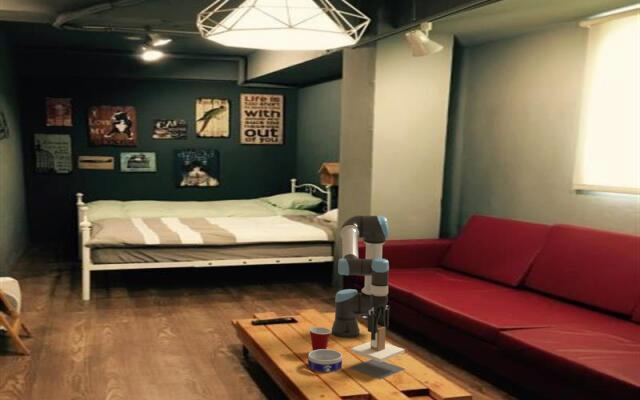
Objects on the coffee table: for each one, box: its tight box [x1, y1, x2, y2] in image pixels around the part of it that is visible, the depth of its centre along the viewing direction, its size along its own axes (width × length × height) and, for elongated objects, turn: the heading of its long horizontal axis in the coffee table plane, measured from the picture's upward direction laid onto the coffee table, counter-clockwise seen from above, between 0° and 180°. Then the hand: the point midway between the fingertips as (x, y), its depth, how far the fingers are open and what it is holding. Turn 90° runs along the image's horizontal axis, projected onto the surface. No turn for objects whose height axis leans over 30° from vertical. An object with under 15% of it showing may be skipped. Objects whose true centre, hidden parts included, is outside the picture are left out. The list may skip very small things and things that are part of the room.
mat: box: [349, 359, 406, 380], centre depth 258 cm, size 18×18×1 cm
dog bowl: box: [307, 348, 343, 373], centre depth 260 cm, size 15×15×6 cm
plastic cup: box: [308, 326, 332, 351], centre depth 277 cm, size 11×11×12 cm
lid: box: [350, 324, 405, 362], centre depth 258 cm, size 17×17×12 cm
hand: (377, 345), depth 258 cm, fingers closed on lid, 4 cm apart
